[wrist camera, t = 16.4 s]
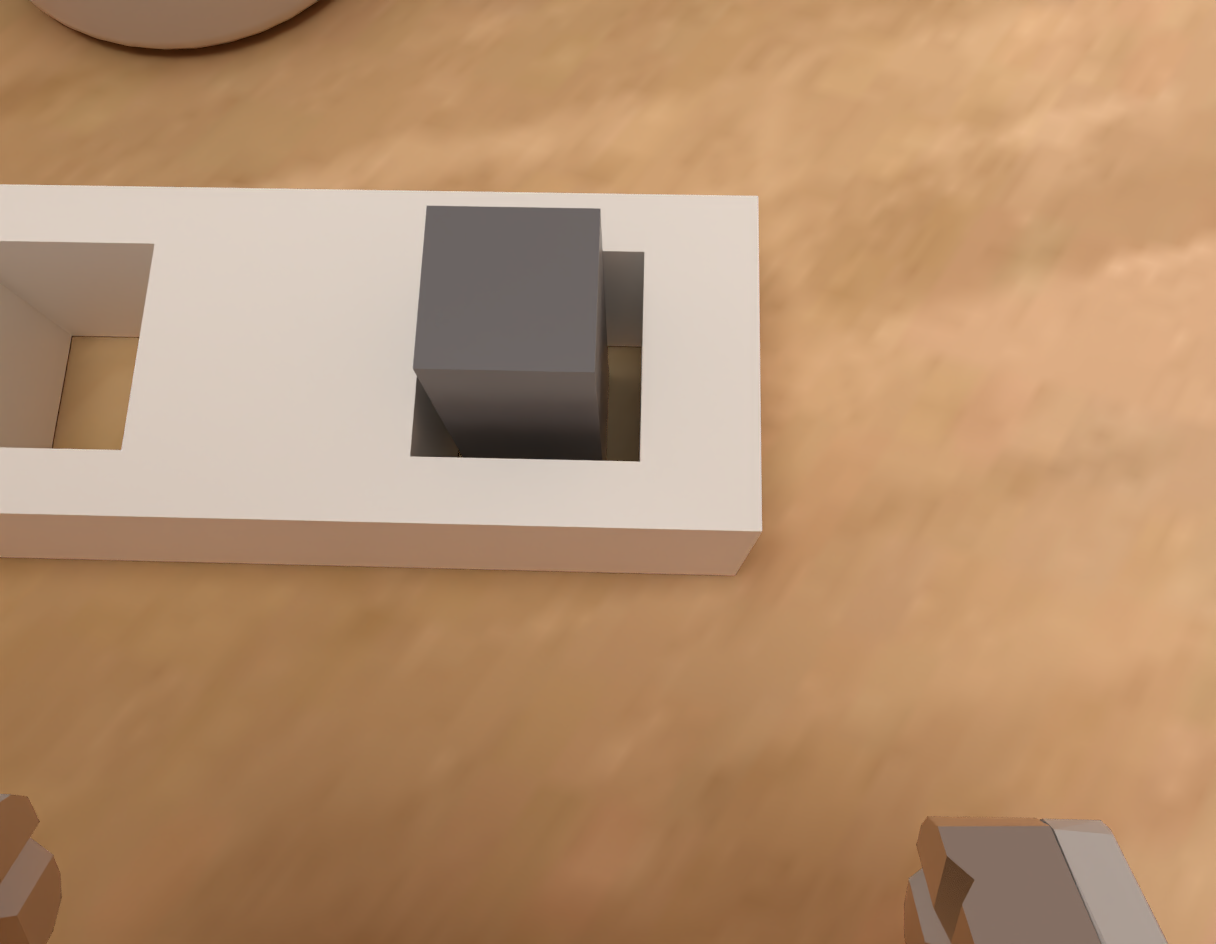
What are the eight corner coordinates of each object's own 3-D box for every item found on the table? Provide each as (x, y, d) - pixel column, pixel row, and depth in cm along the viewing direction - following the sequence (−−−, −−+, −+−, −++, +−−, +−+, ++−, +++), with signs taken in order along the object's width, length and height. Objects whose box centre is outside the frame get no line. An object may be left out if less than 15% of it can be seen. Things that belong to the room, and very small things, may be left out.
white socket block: (-63, 555, 24) (-236, 507, 19) (-4, 269, 26) (-148, 160, 21) (734, 575, 24) (762, 531, 19) (733, 282, 26) (757, 174, 21)
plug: (480, 489, 24) (412, 368, 17) (488, 372, 25) (427, 205, 17) (605, 492, 24) (594, 372, 17) (608, 374, 25) (600, 208, 17)
